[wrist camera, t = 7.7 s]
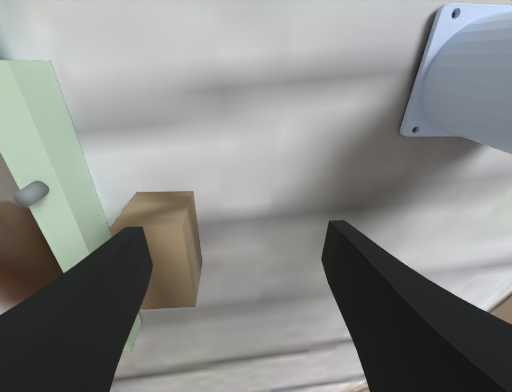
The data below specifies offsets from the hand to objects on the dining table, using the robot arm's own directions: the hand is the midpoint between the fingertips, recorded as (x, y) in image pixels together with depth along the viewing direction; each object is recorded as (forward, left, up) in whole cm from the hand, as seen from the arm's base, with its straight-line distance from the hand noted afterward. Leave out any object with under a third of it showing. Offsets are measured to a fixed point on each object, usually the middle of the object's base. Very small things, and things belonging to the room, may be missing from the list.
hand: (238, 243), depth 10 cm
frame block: (+6, +7, -11) cm, 14 cm away
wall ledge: (+12, +7, -10) cm, 18 cm away
